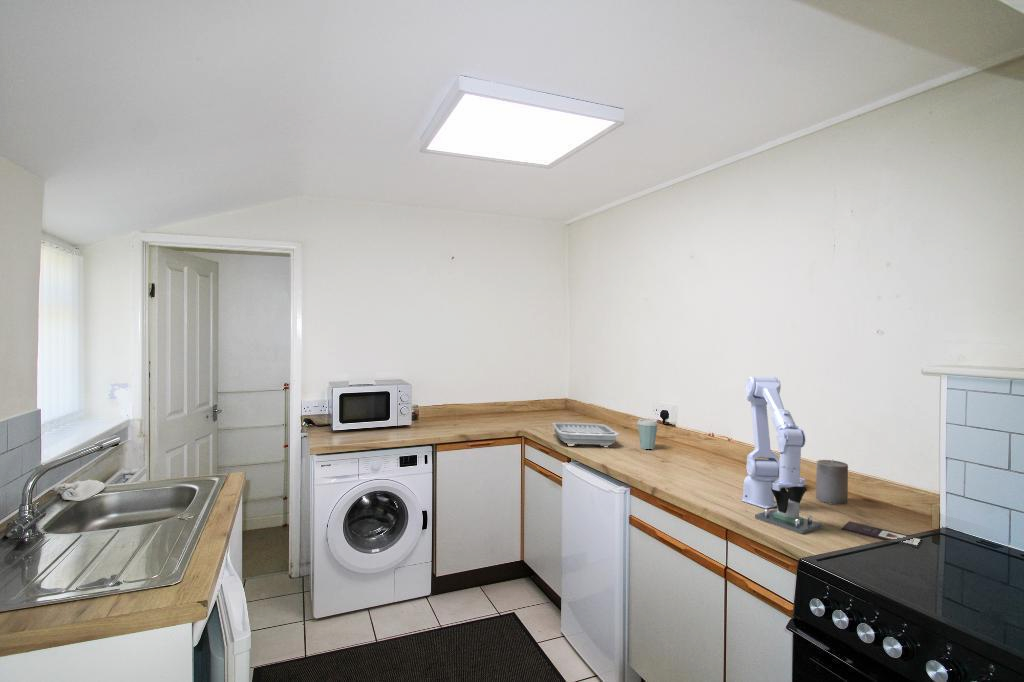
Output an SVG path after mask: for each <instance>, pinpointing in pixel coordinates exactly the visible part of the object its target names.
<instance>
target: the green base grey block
mask: <svg viewBox="0 0 1024 682" xmlns="http://www.w3.org/2000/svg"><path fill="white" fill-rule="evenodd" d="M799 504H801V502H800V503H798V502H794V501H791V500H789V501H788V507H787V512H786V513H783V512H779V510H778V512H775V513H774V516H773V517H776V518H779V519H782V520H785V521H788V522H791V523H794V524H795V519H800V523H802V522H804V517H803V516H800V505H799Z"/></svg>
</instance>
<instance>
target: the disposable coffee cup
mask: <svg viewBox="0 0 1024 682" xmlns="http://www.w3.org/2000/svg"><path fill="white" fill-rule="evenodd" d="M636 424H637V430H638V437H639V438H638V439H639V445H640V449H641V448H643V449H653V450H654V449H655V444H656V437H657V432H658V425H659V423H658V421H657V419H655V418H640V419H638V421H637V423H636ZM643 449H642V450H643Z"/></svg>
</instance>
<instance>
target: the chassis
mask: <svg viewBox="0 0 1024 682" xmlns="http://www.w3.org/2000/svg"><path fill="white" fill-rule="evenodd" d="M776 508H777V509H776ZM776 508H775V509H771V510H769V508H767V509H765V508H764V512H760V513H756V514H754V519H756V518H757V520H759V519H760V520H759V521H763V522H765V523H768V524H770V525H773V524H774V526H776V525H777V527H779V526H780V528H782V527H783V529H786V530H788V531H792V532H794V533H797V534H800V535H804V534H807V533H811V532H814V531H817V530H820V529H823V523H820V522H818V521H817V522H816V521H814V520H813V515H811V514H807V518H804V517H803V518H804V522H802V523H800V519H795V524H794V523H791V522H788V521H785V520H782V519H779V518H776V517H773V516H774V513H775V512H778V506H776Z"/></svg>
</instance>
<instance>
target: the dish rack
mask: <svg viewBox="0 0 1024 682" xmlns="http://www.w3.org/2000/svg"><path fill="white" fill-rule="evenodd" d="M551 425H552V426H553V428H554V433H555V435H556V436H557V437H558V438H559V439H560V440H561V441H562V442H563V443H565V444H566V443H567V444H574V445H575V444H576V445H600V446H601V447H602V446H609V447H610V445H613V444H615V443H616V438H617V437H618V436H619V435H620V433H619V432H617V431H615V430H614V429H612V428H611V427H610V426H608V425H607V424H604V423H603V424H602V423H588V422H587V423H586V422H559V421H558V422H552V424H551ZM576 445H575V446H576Z"/></svg>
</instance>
